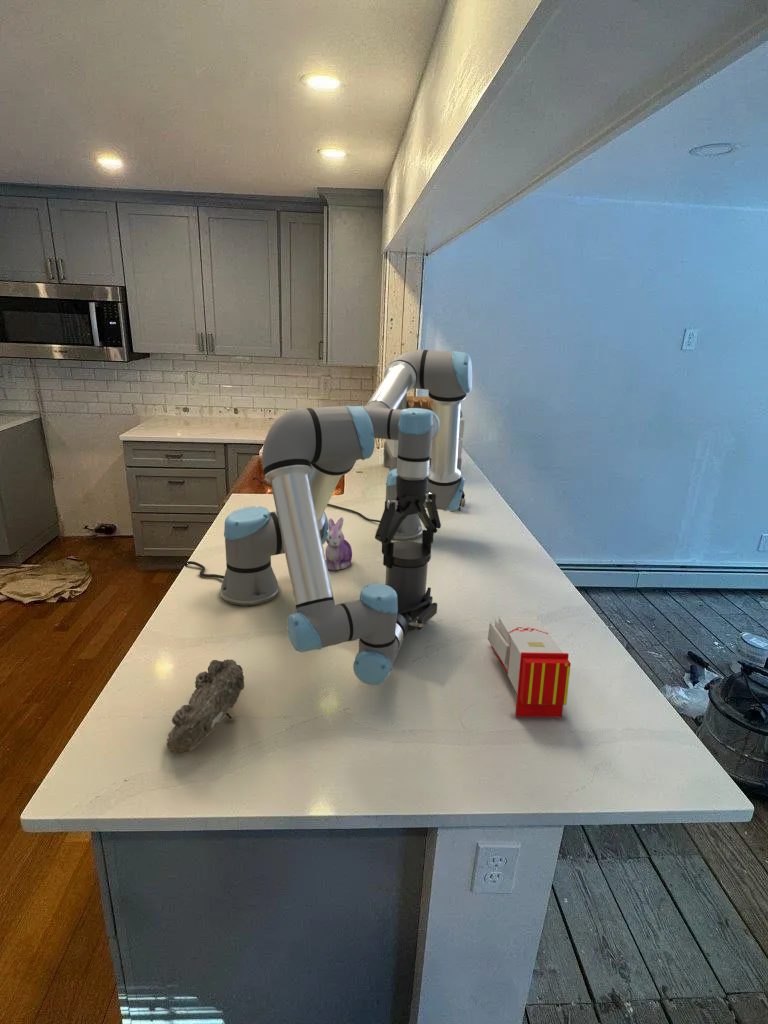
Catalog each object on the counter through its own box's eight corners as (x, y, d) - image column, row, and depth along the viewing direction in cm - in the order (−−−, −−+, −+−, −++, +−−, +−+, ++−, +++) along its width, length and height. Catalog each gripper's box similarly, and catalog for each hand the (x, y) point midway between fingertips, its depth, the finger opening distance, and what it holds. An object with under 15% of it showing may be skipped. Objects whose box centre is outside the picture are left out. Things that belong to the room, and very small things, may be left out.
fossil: (192, 660, 117) (244, 628, 112) (224, 691, 120) (276, 661, 115) (142, 746, 98) (202, 712, 93) (182, 779, 101) (242, 748, 96)
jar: (412, 633, 139) (416, 565, 133) (376, 621, 144) (379, 555, 137) (430, 615, 147) (435, 551, 141) (395, 604, 152) (399, 541, 146)
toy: (534, 602, 136) (579, 659, 107) (529, 653, 139) (572, 723, 110) (484, 601, 136) (516, 658, 107) (480, 652, 139) (510, 722, 109)
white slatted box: (382, 463, 289) (386, 382, 275) (445, 464, 293) (451, 384, 279) (390, 482, 257) (394, 392, 243) (460, 483, 261) (468, 394, 247)
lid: (411, 544, 147) (412, 537, 147) (440, 560, 138) (441, 553, 138) (375, 552, 141) (375, 545, 140) (402, 570, 132) (402, 563, 131)
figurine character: (465, 515, 224) (460, 499, 237) (467, 498, 221) (462, 483, 234) (448, 515, 224) (444, 499, 237) (450, 498, 220) (445, 482, 234)
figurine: (330, 573, 167) (330, 526, 162) (317, 560, 176) (317, 515, 171) (359, 568, 172) (360, 522, 167) (345, 555, 180) (346, 511, 175)
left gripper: (339, 638, 131) (365, 595, 151) (436, 656, 126) (450, 608, 146) (339, 609, 128) (366, 569, 148) (439, 626, 123) (453, 582, 143)
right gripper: (439, 465, 142) (433, 545, 150) (361, 478, 129) (358, 566, 136) (460, 473, 137) (452, 555, 144) (381, 487, 123) (377, 578, 130)
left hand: (408, 588), depth 147 cm, fingers closed on jar, 10 cm apart
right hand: (407, 560), depth 140 cm, fingers closed on lid, 11 cm apart
